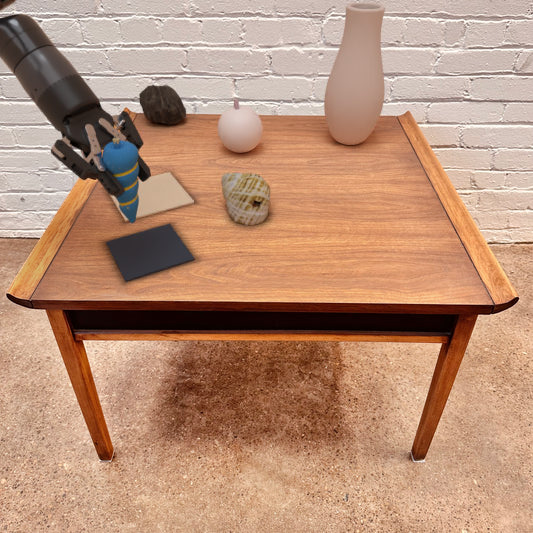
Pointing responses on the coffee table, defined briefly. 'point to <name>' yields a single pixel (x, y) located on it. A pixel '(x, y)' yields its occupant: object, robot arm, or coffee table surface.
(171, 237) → the slate mat
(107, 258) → the coffee table surface
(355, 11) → the vase
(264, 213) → the seashell
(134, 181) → the ornament
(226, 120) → the ornament
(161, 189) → the cream mat
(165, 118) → the rock
